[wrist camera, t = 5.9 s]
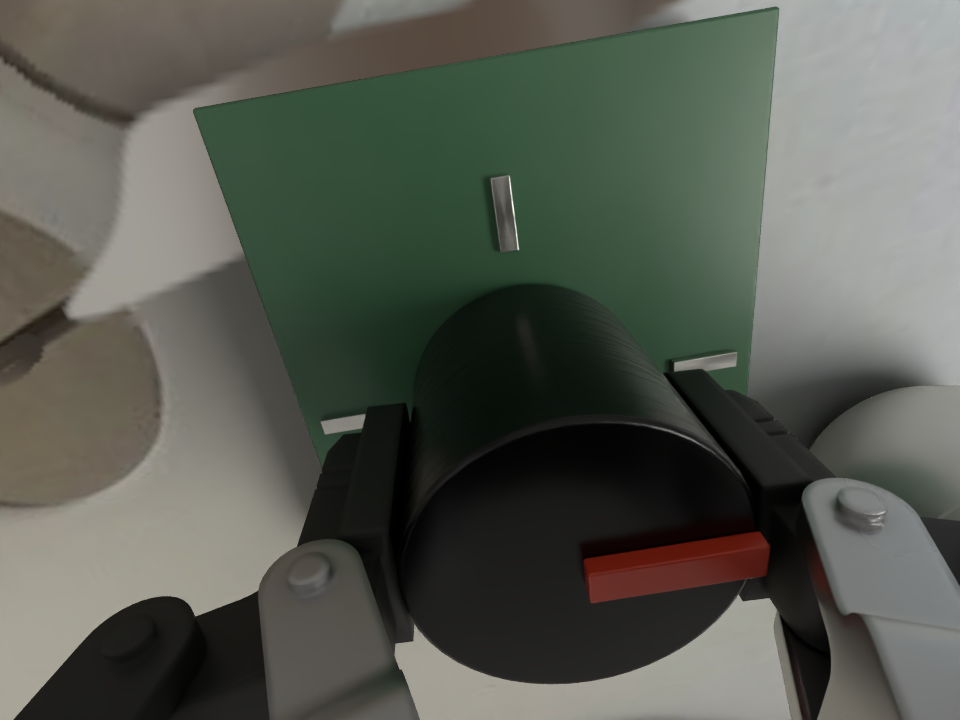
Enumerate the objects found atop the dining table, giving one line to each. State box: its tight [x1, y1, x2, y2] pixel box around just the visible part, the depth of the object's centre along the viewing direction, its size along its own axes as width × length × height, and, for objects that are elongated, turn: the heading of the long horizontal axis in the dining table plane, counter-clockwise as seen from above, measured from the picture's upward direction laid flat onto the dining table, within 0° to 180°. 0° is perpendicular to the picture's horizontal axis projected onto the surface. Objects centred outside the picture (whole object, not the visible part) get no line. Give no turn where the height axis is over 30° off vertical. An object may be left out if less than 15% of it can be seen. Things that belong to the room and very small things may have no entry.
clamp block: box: [193, 7, 779, 467], centre depth 13 cm, size 13×10×3 cm
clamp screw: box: [397, 284, 770, 684], centre depth 9 cm, size 5×5×5 cm
